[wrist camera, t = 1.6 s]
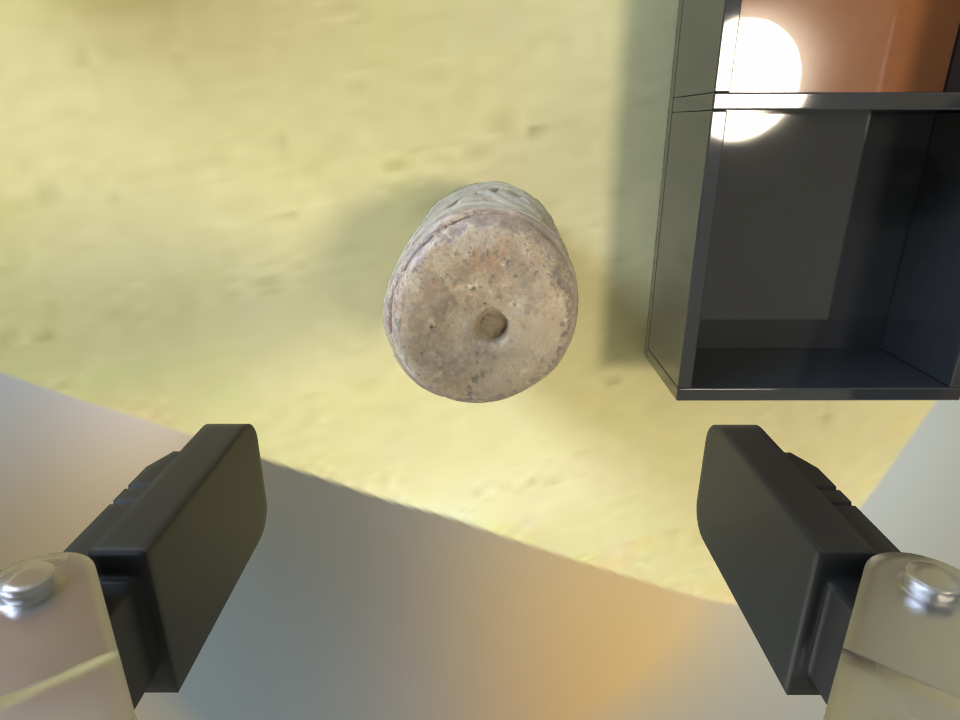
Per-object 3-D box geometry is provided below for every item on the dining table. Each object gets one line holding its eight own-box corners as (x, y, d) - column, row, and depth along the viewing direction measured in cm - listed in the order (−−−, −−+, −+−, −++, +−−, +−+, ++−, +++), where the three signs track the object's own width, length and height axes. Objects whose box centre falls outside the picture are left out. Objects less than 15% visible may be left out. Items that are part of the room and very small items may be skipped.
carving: (569, 196, 29) (627, 241, 18) (516, 340, 32) (536, 459, 20) (440, 151, 28) (415, 168, 17) (396, 302, 31) (348, 404, 20)
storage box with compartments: (702, -235, 23) (766, -338, 18) (1025, -236, 23) (1182, -339, 18) (643, 355, 32) (676, 401, 27) (881, 355, 32) (960, 400, 27)
